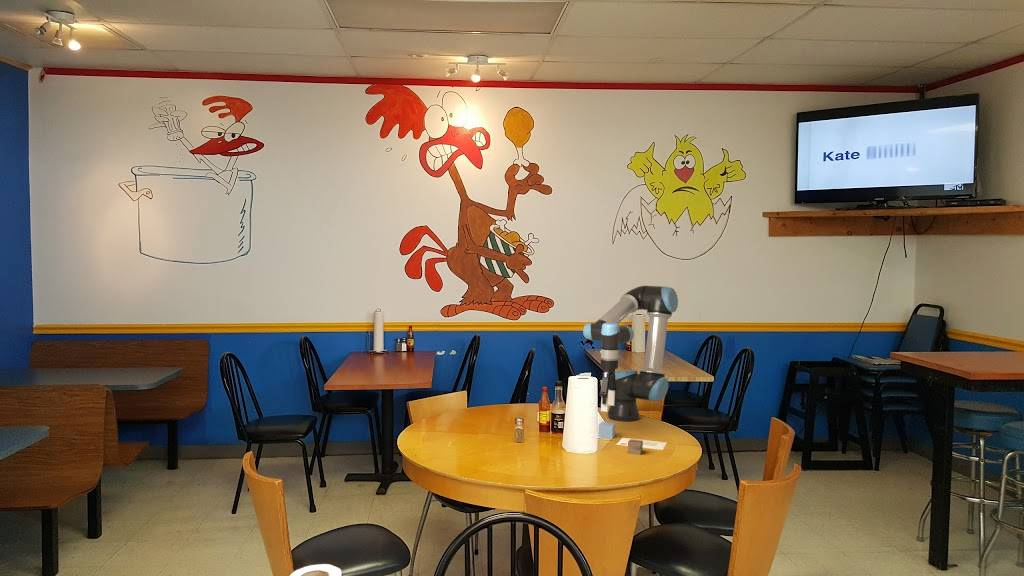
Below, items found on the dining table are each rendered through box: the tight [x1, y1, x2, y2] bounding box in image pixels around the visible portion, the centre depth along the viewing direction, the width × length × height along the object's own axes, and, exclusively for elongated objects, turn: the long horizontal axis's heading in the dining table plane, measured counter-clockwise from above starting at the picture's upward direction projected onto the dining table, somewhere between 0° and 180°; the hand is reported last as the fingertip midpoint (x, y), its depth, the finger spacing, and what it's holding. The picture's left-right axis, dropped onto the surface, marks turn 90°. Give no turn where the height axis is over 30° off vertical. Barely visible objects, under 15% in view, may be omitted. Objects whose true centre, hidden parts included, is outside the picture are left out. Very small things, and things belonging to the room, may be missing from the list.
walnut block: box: [627, 438, 644, 456], centre depth 301 cm, size 5×5×5 cm
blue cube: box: [598, 421, 616, 440], centre depth 325 cm, size 6×6×6 cm
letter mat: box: [616, 437, 667, 451], centre depth 316 cm, size 16×22×1 cm
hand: (607, 408), depth 325 cm, fingers open, 13 cm apart
